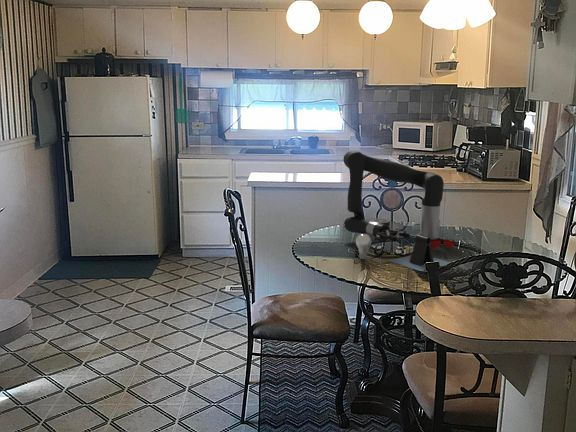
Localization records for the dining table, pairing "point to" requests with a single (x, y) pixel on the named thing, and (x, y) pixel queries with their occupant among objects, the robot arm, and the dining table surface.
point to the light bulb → (363, 245)
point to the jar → (382, 221)
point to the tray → (406, 263)
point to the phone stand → (421, 251)
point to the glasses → (448, 244)
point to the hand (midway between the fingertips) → (402, 238)
